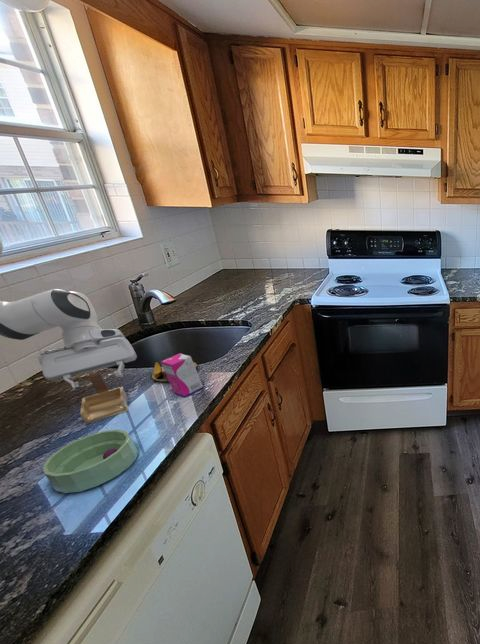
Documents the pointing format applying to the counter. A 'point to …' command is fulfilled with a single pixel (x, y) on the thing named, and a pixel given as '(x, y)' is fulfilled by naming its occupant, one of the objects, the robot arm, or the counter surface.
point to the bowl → (90, 461)
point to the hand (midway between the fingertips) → (98, 382)
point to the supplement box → (182, 375)
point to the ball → (109, 453)
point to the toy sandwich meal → (161, 373)
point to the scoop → (103, 401)
